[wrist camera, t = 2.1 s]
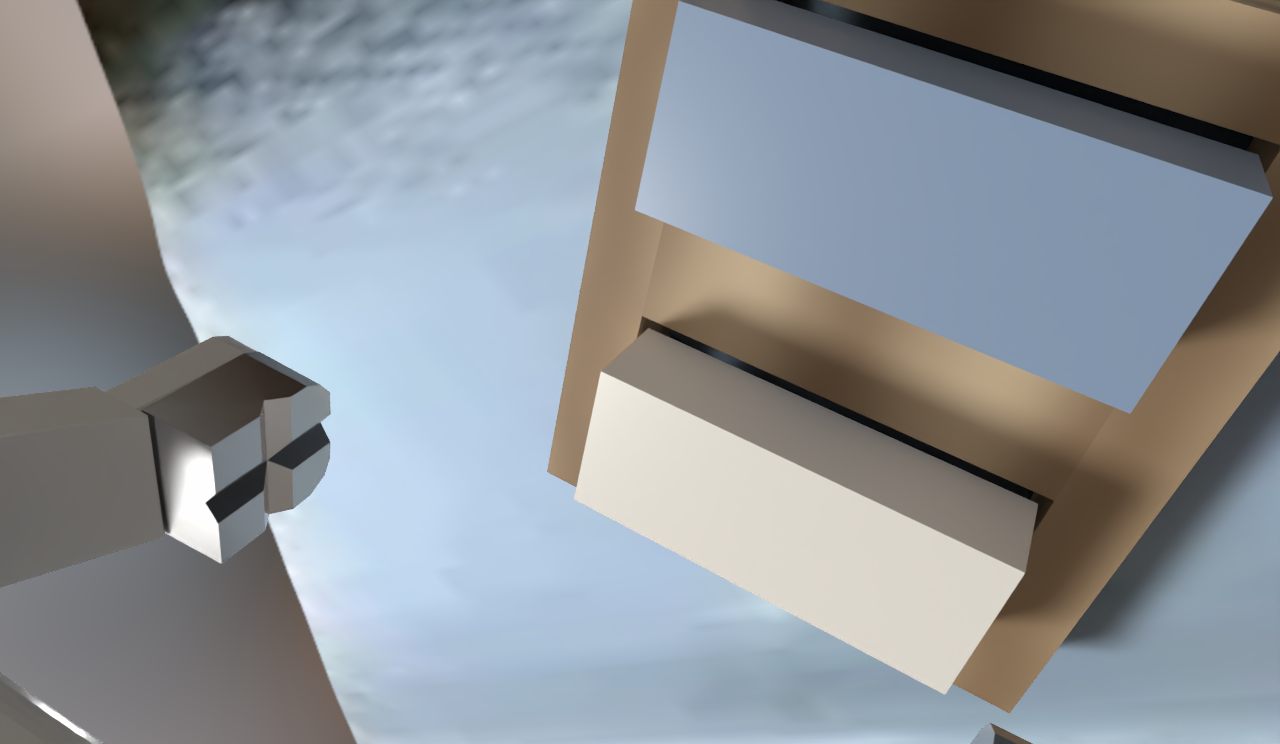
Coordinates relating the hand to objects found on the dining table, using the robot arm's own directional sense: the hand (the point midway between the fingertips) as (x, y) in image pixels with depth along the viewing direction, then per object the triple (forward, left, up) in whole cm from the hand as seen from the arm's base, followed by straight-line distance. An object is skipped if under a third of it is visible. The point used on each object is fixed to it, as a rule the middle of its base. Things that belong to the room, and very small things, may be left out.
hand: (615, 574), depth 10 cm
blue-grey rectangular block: (0, -1, -15) cm, 15 cm away
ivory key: (0, +9, -15) cm, 18 cm away
